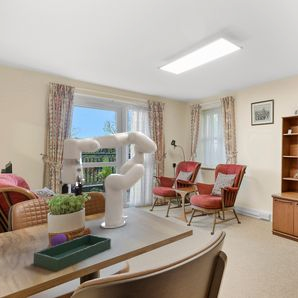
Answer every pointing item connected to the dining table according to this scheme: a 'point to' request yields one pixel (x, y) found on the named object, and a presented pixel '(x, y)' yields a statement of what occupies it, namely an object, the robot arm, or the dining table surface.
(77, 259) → the tray
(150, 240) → the dining table surface
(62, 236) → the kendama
